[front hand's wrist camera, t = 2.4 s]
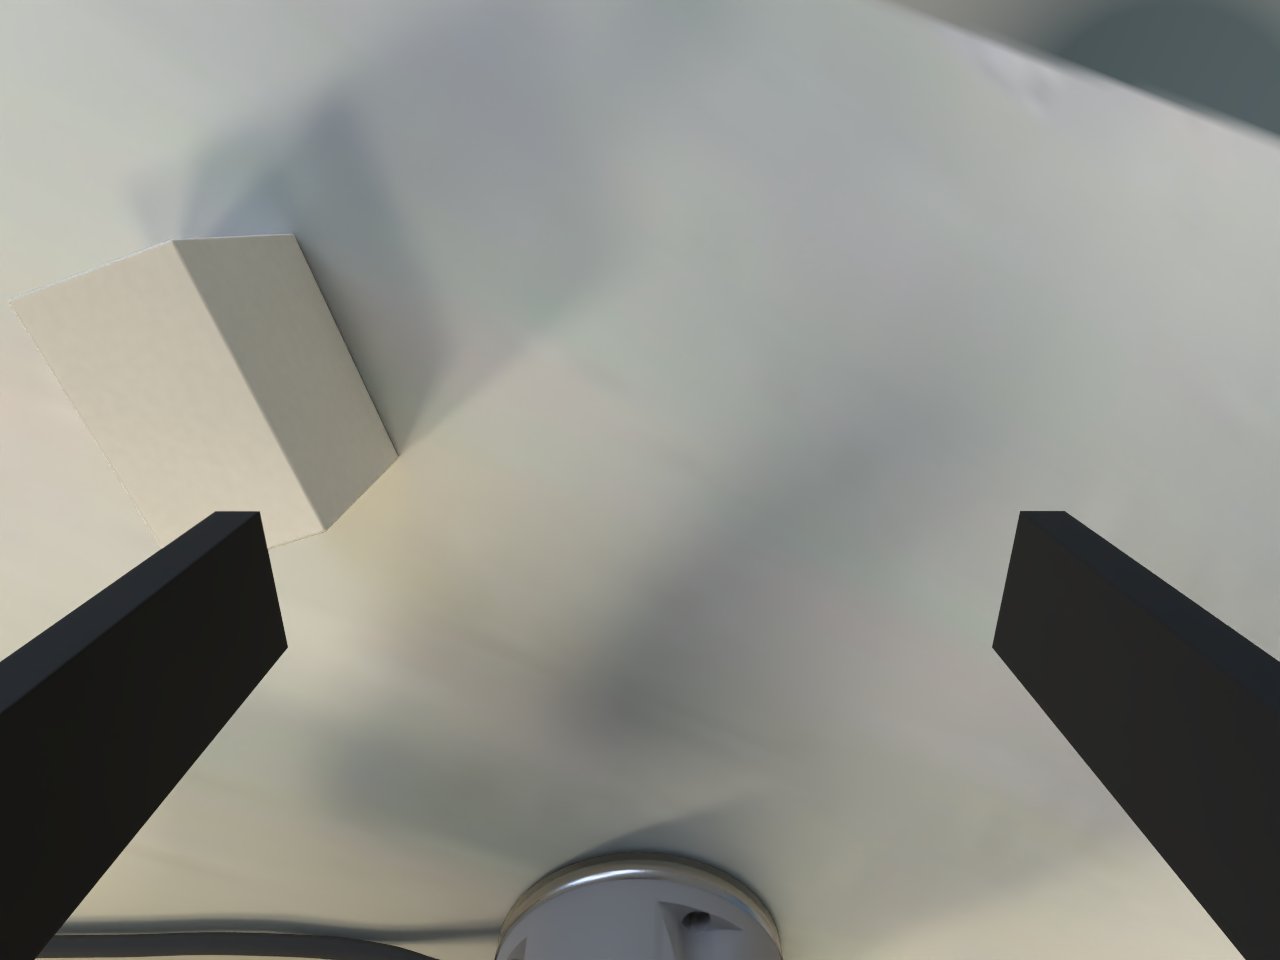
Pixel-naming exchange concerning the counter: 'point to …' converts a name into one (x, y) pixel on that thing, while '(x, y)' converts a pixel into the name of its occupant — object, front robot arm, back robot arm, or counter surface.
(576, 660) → the counter surface
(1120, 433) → the counter surface
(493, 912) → the counter surface
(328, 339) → the brick
